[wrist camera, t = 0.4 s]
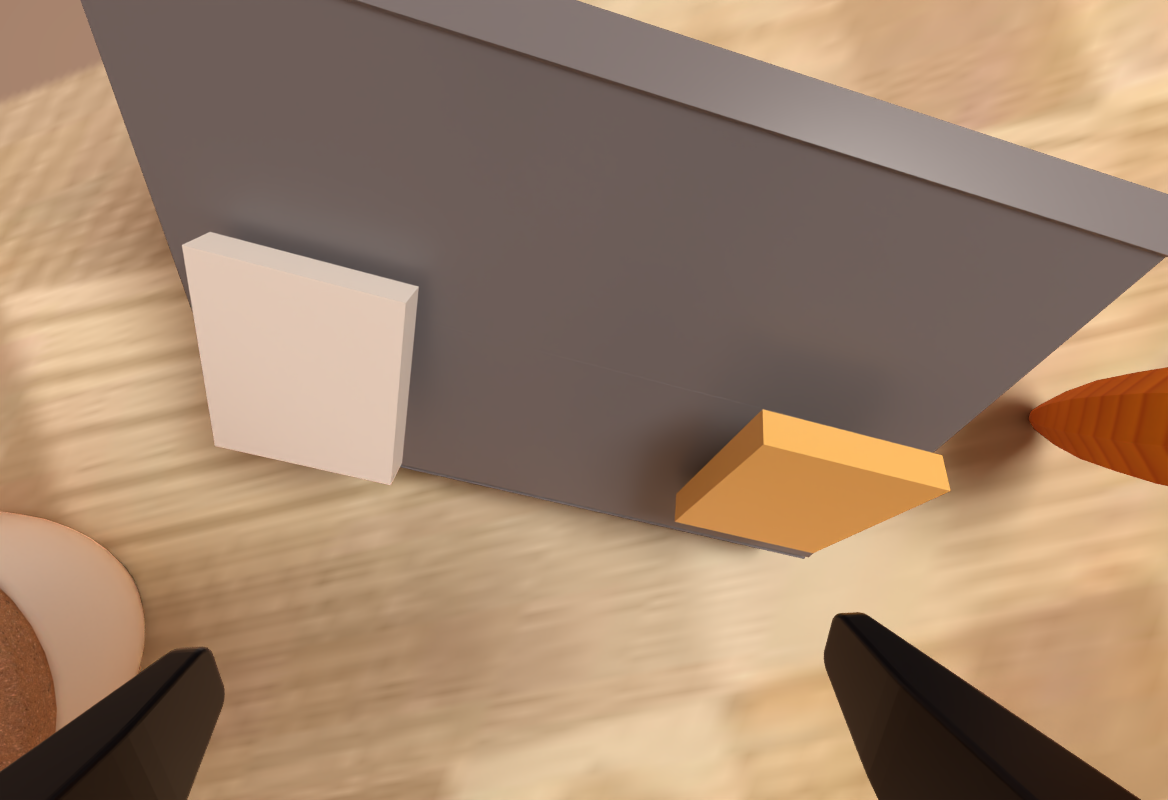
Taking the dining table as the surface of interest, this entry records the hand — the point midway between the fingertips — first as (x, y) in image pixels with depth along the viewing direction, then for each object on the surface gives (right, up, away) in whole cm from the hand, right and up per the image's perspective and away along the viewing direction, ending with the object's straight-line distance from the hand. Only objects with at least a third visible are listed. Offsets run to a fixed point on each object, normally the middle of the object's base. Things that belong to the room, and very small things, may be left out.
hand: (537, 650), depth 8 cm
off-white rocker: (-7, +4, +9) cm, 12 cm away
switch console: (0, +5, +15) cm, 16 cm away
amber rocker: (+7, +1, +10) cm, 13 cm away
